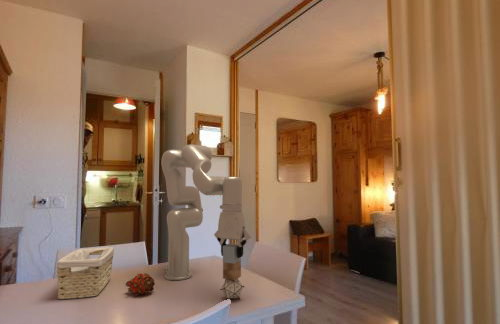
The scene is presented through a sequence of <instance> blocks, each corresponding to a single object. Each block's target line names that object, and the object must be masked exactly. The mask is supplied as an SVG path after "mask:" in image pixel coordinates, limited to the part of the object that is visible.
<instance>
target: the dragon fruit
mask: <svg viewBox="0 0 500 324" xmlns="http://www.w3.org/2000/svg"><path fill="white" fill-rule="evenodd" d="M155 285H156V283H155V279H154V278H153V277H152V276H151V275H149V273H146V272H145V273H136V275H135V276H134V277H133V278H131V279H129V280H128V281H126V283H125V287H127V292H129V293H134V295H135V296H136V297H137V296H140V295H143V296H145V295H147V294H148V293H149V292H153V291H154V290H155V288H154V286H155Z"/></svg>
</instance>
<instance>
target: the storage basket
mask: <svg viewBox="0 0 500 324" xmlns="http://www.w3.org/2000/svg"><path fill="white" fill-rule="evenodd" d="M114 248H115V247H114V246H108V247H106V246H105V247H92V248H90V247H89V248H78V249H76V250H74V251H71V252H70V253H68V254H66V255H65V256H63V257H61V258H60V259H59V260H58V261H56V262H57V264H56V273H57V275H56V277H57V297H56V298H57V299H59V300H64V299H65V300H66V299H67V300H68V299H78V298H79V299H82V298H89V297H90V298H91V297H97V296H98V295H99V294H100V292H101V291H102V290H104V288H105V287H106V285H107V284H108V283H109V282H110V280H111V273H112V269H113V268H112V266H113V258H114V255H115V253H114V252H115V251H114ZM92 255H93V256H95V255H96V256H97V257H93V258H91V257H90V256H92ZM98 255H99V256H98Z"/></svg>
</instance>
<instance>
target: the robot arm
mask: <svg viewBox="0 0 500 324" xmlns="http://www.w3.org/2000/svg"><path fill="white" fill-rule="evenodd" d="M212 157H213V152H212V150H211V148H210V147H208V146H207V145H200V144H193V143H192V144H191V143H190V144H186V145H185V146H183V147H182V149H168V150H166V151H165V152H163V154H162V157H161V160H160V161H161V169H162V172H163V176H164V178H165V186H166V195H167V200H168V204H169V205H170V206H173V207H177V208H173V209H171V210H170V211H168V213H167V215H166V224H167V230H168V231H167V233H168V253H167V254H168V255H167V256H168V262H167V264H164V267H162V271H166V272H165V274H164V279H166V280H168V281H183V280H187V279H190V278H192V276H193V272H192V271H191V270H190V236H189V234H188V233H187V230H186V229H187V228H196V227H198V226H201V224H202V223H203V219H204V217H203V216H204V215H203V208H202V207H203V206H202V201H201V200H202V199H201V195H200V193H201V194H202V195H205V196H222V201H221V202H222V204H221V205H220V206H219V208H220V209H221V210H222V211H221V212H219V213H220V214H219V218H218V223H217V230H216V232H215V233H214V234H213V236H214V238H216V240H217V242H218V243H219V245H220V253H221V256H222V257H223V246H224V245H227V241H228V240H232V241H236V244H238V247H237V257H238V258H240V257H241V258H242V257H243V256H244V246H245V245H246V244H247V242H248V241H249V240H251V238H252V237H251V235H250V234H249V233H248V231H247V230H246V220H245V215H244V212H243V207H242V206H243V193H242V192H243V186H242V185H243V180H242V178H241V177H239V176H218V175H217V176H215V175H214V176H213V175H212V176H210V175H207V174H208V173H209V172H210V170H211V168H212V161H211V160H212ZM178 168H190V169H192V181H193V184H194V186H191V185H185V182H184V181H185V180H184V176H183V174H182V173H181V171H180V170H179V169H178ZM182 206H184V207H182ZM185 206H187V207H185ZM180 207H181V208H180Z"/></svg>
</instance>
